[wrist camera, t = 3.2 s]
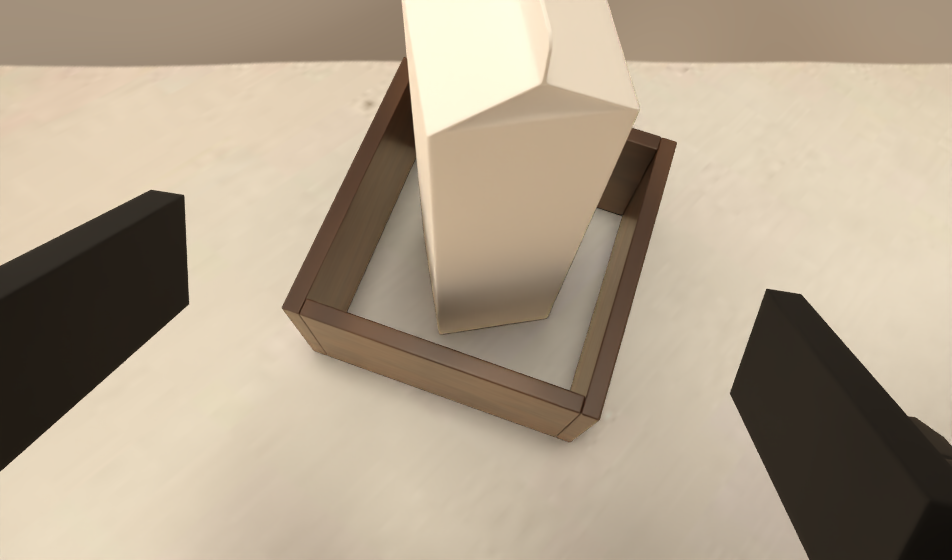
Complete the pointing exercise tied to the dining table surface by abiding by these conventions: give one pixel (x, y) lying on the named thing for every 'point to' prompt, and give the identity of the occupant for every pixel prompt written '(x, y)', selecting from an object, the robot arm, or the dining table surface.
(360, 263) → the caddy
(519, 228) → the milk
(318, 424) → the dining table surface
